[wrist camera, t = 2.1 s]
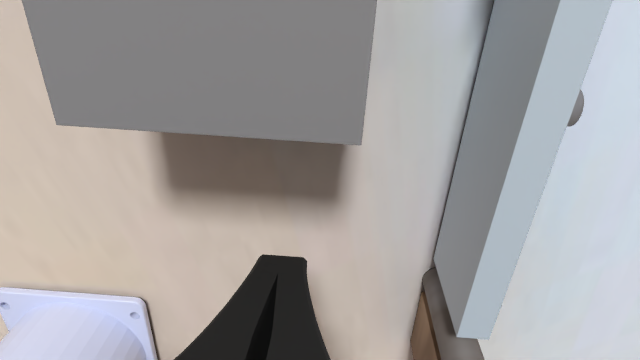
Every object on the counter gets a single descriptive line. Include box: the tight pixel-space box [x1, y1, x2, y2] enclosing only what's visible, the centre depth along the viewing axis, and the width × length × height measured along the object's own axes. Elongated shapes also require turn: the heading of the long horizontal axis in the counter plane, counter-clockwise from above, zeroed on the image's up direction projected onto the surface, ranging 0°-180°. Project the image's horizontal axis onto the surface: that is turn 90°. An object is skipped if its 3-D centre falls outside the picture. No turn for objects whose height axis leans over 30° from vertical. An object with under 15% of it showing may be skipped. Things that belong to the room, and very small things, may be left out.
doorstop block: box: [22, 0, 377, 145], centre depth 12 cm, size 4×8×6 cm, turn 87°
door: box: [434, 0, 613, 340], centre depth 14 cm, size 12×2×4 cm, turn 177°
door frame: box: [410, 268, 484, 360], centre depth 13 cm, size 28×2×5 cm, turn 177°
